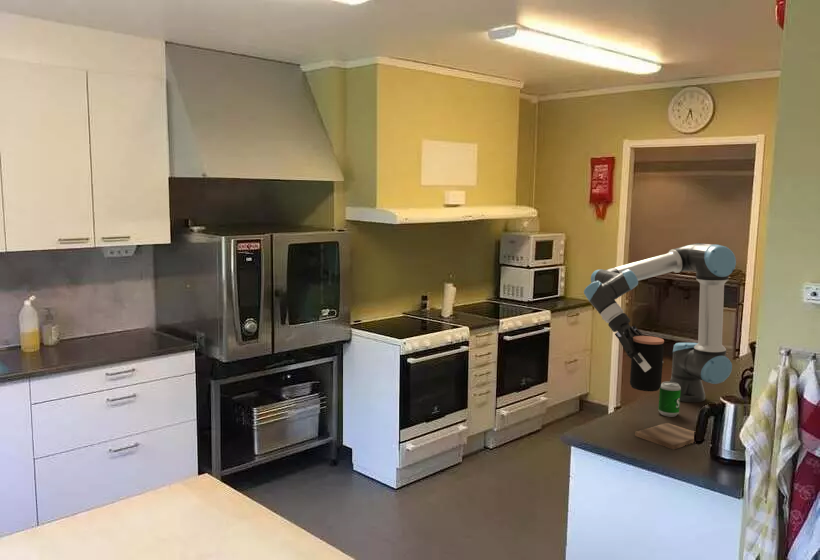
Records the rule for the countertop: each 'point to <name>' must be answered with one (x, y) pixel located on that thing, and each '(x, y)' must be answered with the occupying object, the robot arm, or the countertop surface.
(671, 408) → the soda can
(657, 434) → the walnut board
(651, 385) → the coffee jar
